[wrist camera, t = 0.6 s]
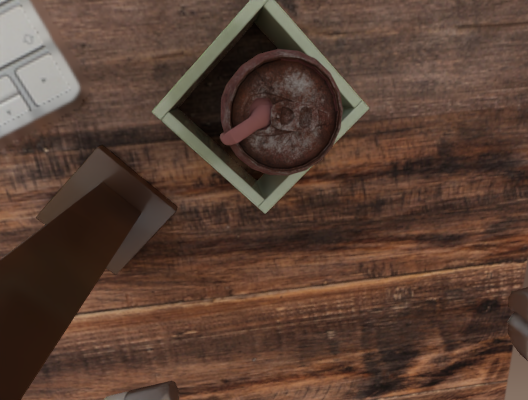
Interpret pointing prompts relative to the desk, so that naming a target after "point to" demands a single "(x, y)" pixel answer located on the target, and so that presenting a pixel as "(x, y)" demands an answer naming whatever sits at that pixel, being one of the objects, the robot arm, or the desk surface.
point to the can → (281, 112)
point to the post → (71, 260)
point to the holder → (255, 11)
